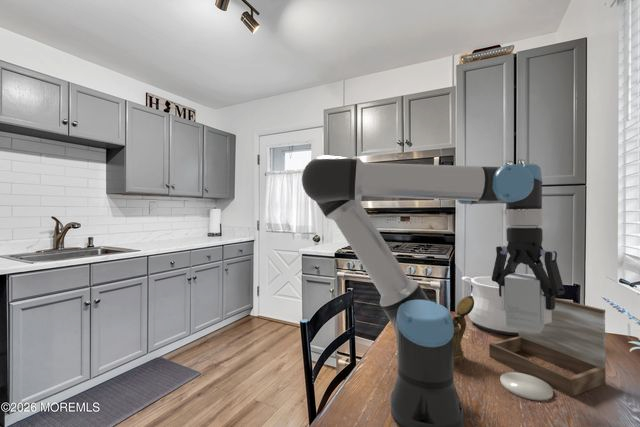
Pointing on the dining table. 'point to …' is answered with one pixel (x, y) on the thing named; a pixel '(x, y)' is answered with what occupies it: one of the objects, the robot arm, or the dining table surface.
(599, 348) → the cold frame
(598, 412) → the dining table surface
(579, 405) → the dining table surface
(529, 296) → the supplement box
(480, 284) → the pot
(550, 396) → the saucer
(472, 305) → the wooden mug
